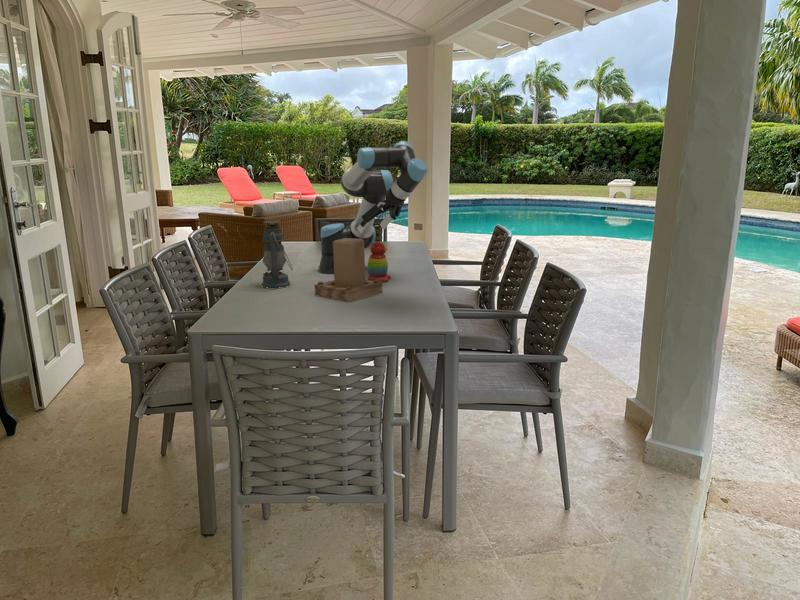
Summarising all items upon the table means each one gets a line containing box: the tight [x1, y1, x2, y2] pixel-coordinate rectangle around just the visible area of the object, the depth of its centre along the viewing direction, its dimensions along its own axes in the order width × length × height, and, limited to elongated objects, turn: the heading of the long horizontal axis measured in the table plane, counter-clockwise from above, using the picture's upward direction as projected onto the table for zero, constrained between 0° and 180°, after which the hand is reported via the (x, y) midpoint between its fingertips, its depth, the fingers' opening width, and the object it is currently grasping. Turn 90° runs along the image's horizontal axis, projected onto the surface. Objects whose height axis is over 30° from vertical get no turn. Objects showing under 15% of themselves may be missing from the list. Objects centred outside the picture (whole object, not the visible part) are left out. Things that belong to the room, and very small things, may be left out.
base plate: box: [314, 279, 383, 303], centre depth 253 cm, size 20×20×6 cm
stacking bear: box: [367, 241, 392, 283], centre depth 279 cm, size 11×10×18 cm
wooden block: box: [333, 238, 366, 288], centre depth 251 cm, size 10×10×20 cm
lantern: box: [261, 218, 294, 289], centre depth 268 cm, size 19×14×30 cm
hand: (370, 228), depth 245 cm, fingers open, 13 cm apart
